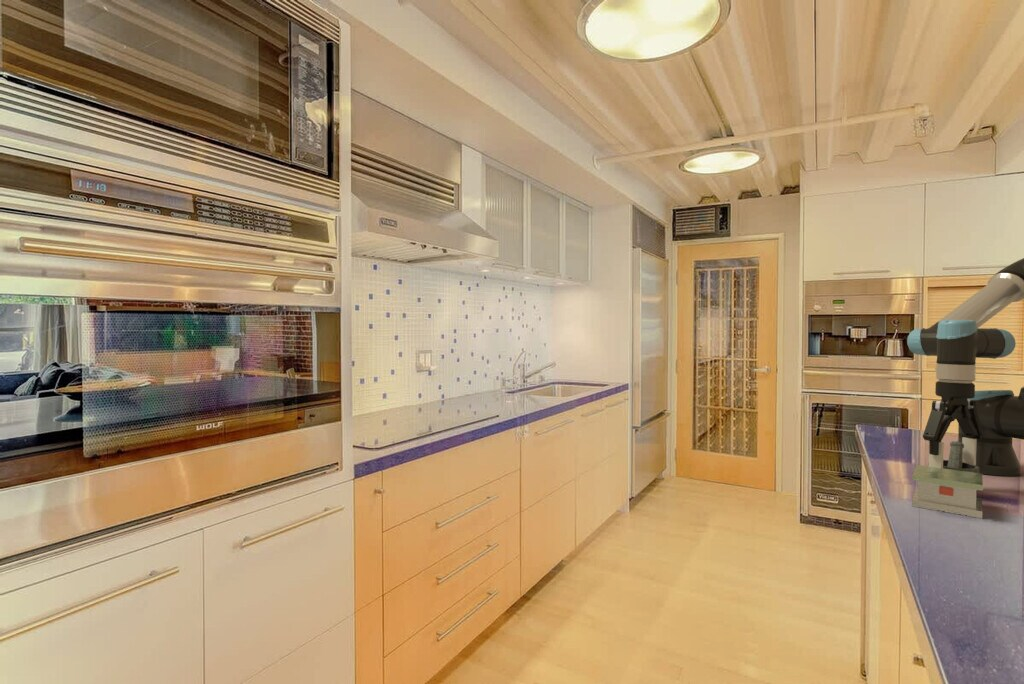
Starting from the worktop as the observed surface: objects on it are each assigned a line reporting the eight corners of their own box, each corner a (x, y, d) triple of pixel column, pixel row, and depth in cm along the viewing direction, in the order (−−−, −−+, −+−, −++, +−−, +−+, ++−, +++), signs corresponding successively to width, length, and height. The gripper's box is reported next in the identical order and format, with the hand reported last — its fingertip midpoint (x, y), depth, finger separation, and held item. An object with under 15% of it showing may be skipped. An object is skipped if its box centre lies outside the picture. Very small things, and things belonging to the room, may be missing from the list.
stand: (916, 493, 128) (916, 464, 128) (981, 504, 120) (982, 473, 120) (911, 506, 120) (912, 474, 119) (982, 518, 112) (982, 485, 111)
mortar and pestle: (975, 500, 124) (975, 450, 123) (925, 491, 131) (925, 443, 130) (981, 490, 131) (982, 443, 131) (934, 482, 138) (934, 437, 138)
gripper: (966, 379, 138) (964, 458, 139) (907, 380, 129) (904, 466, 129) (1002, 381, 132) (999, 465, 132) (941, 383, 122) (938, 473, 122)
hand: (952, 466), depth 131 cm, fingers open, 13 cm apart
